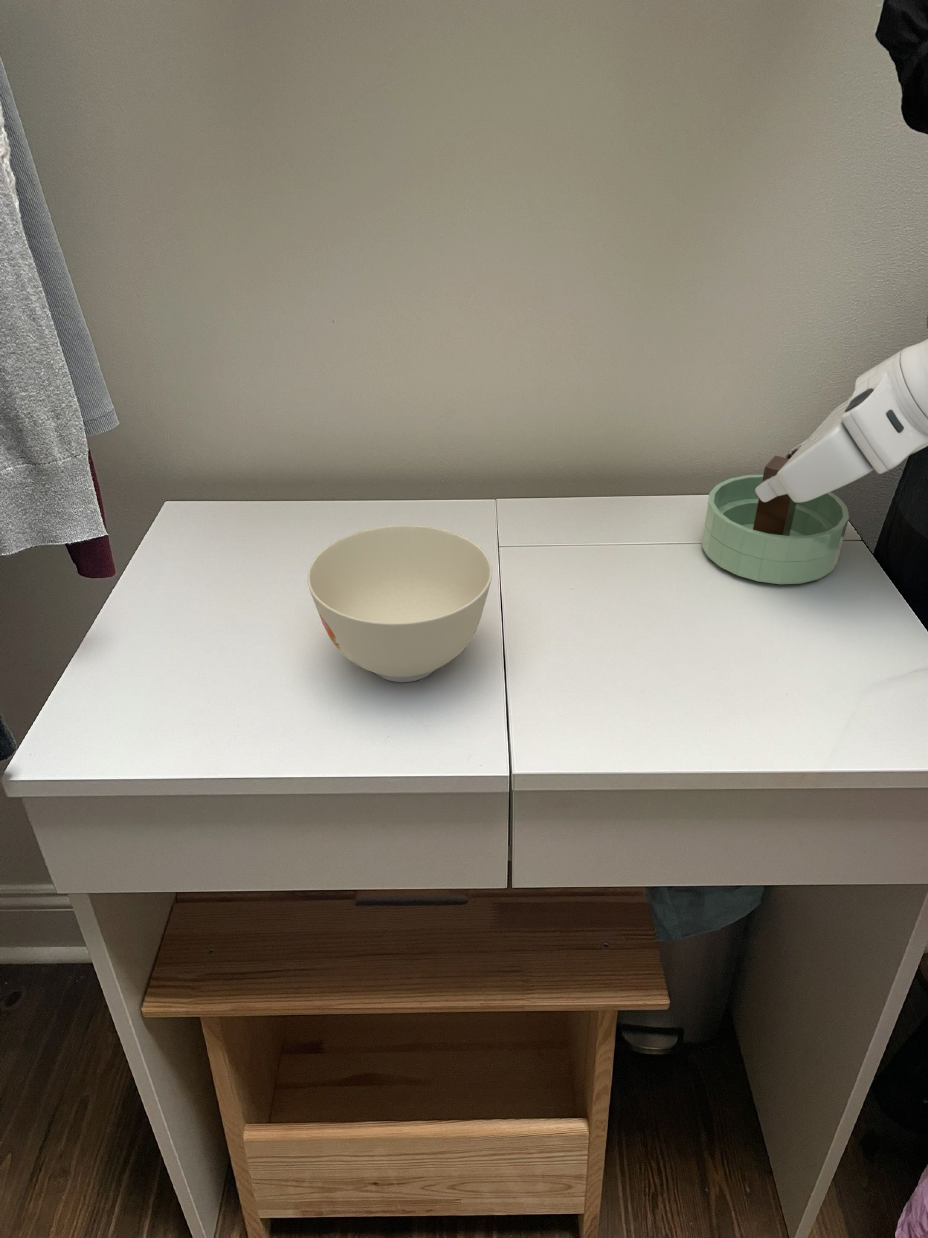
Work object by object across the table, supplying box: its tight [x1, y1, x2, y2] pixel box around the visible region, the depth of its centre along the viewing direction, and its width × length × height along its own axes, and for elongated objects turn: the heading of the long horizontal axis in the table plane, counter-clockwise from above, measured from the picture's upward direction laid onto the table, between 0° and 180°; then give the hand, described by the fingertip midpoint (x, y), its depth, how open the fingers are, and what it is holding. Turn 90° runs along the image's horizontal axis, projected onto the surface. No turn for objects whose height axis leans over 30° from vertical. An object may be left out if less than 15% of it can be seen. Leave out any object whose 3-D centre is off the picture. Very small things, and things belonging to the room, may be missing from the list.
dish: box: [701, 474, 850, 585], centre depth 102 cm, size 14×14×6 cm
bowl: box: [306, 524, 493, 683], centre depth 85 cm, size 16×16×10 cm
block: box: [753, 455, 796, 536], centre depth 100 cm, size 3×3×10 cm
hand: (776, 476), depth 98 cm, fingers open, 8 cm apart
